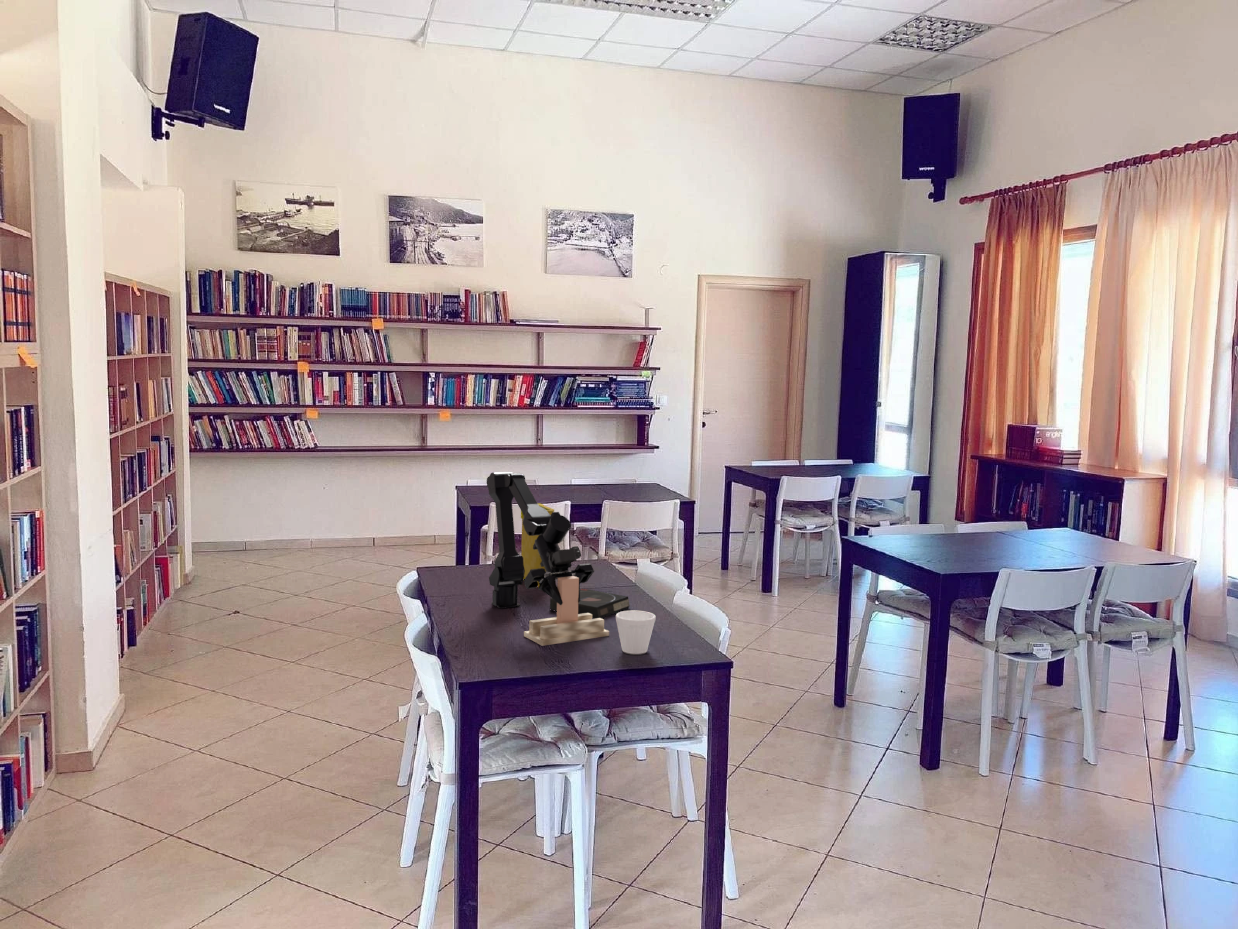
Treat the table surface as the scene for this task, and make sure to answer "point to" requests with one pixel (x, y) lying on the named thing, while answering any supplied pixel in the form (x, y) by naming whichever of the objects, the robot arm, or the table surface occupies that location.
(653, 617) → the cup
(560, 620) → the tile
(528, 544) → the book
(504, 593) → the robot arm
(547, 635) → the rack
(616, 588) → the table surface
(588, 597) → the portable cd player
